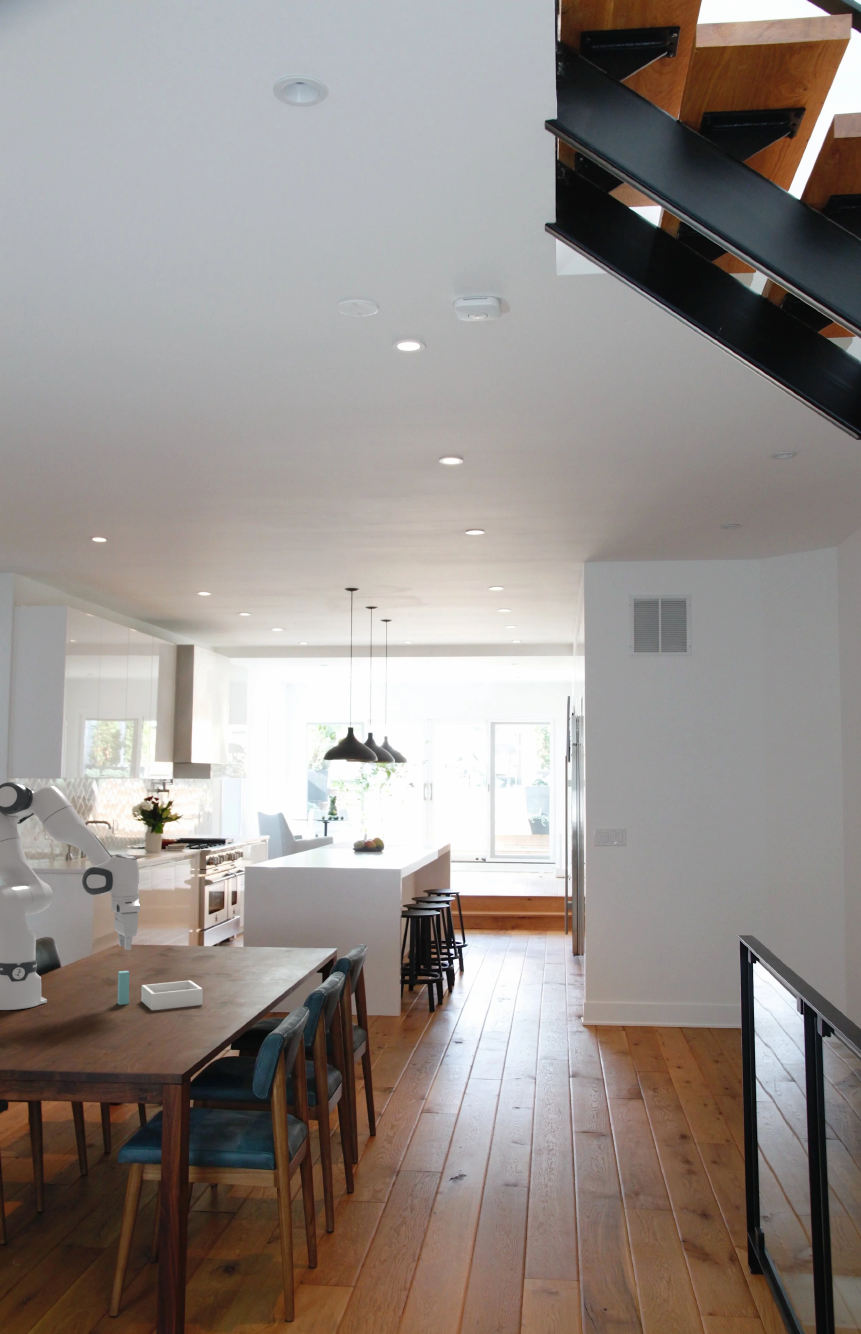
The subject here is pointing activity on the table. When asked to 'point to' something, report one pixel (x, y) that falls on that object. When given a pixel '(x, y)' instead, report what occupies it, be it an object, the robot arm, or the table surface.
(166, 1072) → the table surface
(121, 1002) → the peg
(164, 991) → the box
